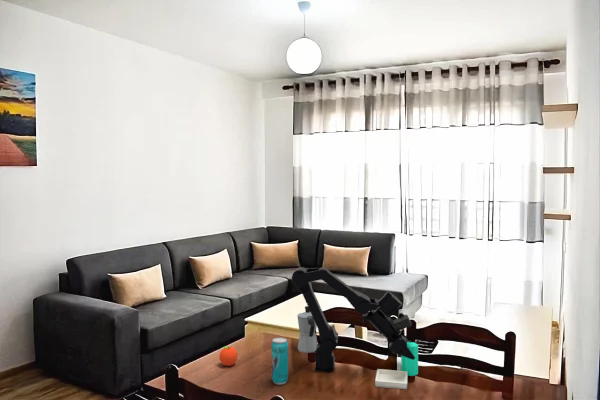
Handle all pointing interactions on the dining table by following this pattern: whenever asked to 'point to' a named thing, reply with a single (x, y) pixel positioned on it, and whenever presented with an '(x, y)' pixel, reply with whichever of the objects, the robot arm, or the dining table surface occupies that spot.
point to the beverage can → (279, 360)
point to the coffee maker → (307, 332)
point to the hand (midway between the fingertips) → (413, 354)
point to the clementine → (228, 356)
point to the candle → (410, 360)
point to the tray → (391, 379)
